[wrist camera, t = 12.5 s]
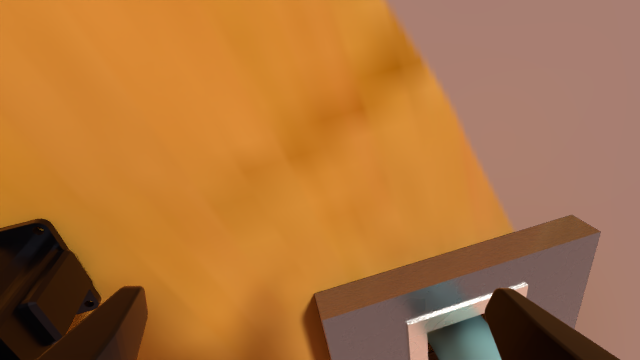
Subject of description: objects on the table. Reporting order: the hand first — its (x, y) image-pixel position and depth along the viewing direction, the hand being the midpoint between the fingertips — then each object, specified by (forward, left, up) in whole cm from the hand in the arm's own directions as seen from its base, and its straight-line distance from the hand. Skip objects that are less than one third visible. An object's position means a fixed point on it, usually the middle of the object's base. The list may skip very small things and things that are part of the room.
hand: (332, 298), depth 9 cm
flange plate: (+11, -20, -12) cm, 26 cm away
